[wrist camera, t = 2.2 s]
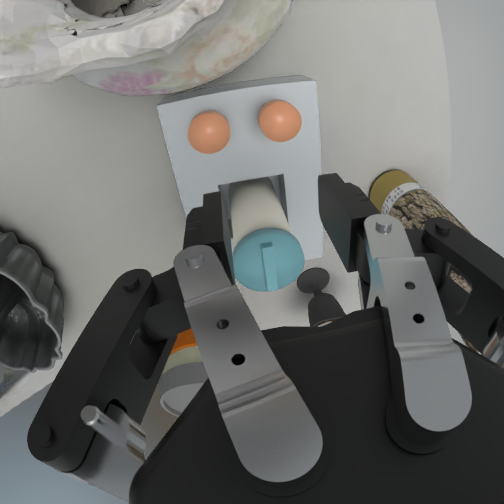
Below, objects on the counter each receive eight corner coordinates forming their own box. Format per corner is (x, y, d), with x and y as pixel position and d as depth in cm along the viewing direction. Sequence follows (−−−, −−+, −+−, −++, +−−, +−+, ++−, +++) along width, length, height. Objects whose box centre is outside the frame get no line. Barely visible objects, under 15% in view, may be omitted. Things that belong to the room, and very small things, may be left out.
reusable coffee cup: (159, 289, 43) (148, 381, 31) (247, 287, 45) (260, 379, 33) (170, 342, 51) (166, 421, 39) (243, 340, 52) (253, 419, 41)
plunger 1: (188, 109, 24) (183, 119, 21) (224, 101, 24) (226, 110, 21) (195, 142, 26) (192, 157, 23) (230, 135, 26) (233, 149, 23)
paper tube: (373, 221, 40) (472, 377, 20) (361, 180, 36) (484, 342, 16) (414, 201, 39) (526, 340, 19) (406, 160, 35) (545, 298, 15)
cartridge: (221, 172, 33) (226, 247, 22) (273, 163, 33) (305, 233, 22) (230, 215, 36) (239, 301, 26) (278, 207, 36) (307, 289, 26)
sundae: (291, 265, 43) (319, 355, 31) (337, 260, 44) (376, 344, 32) (289, 298, 47) (312, 384, 35) (331, 293, 48) (362, 374, 36)
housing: (165, 97, 28) (156, 106, 24) (301, 75, 28) (316, 80, 24) (204, 252, 40) (204, 278, 36) (311, 233, 40) (322, 257, 36)
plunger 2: (251, 97, 24) (257, 105, 21) (288, 92, 24) (299, 100, 21) (256, 131, 26) (263, 144, 23) (291, 126, 26) (303, 139, 23)
